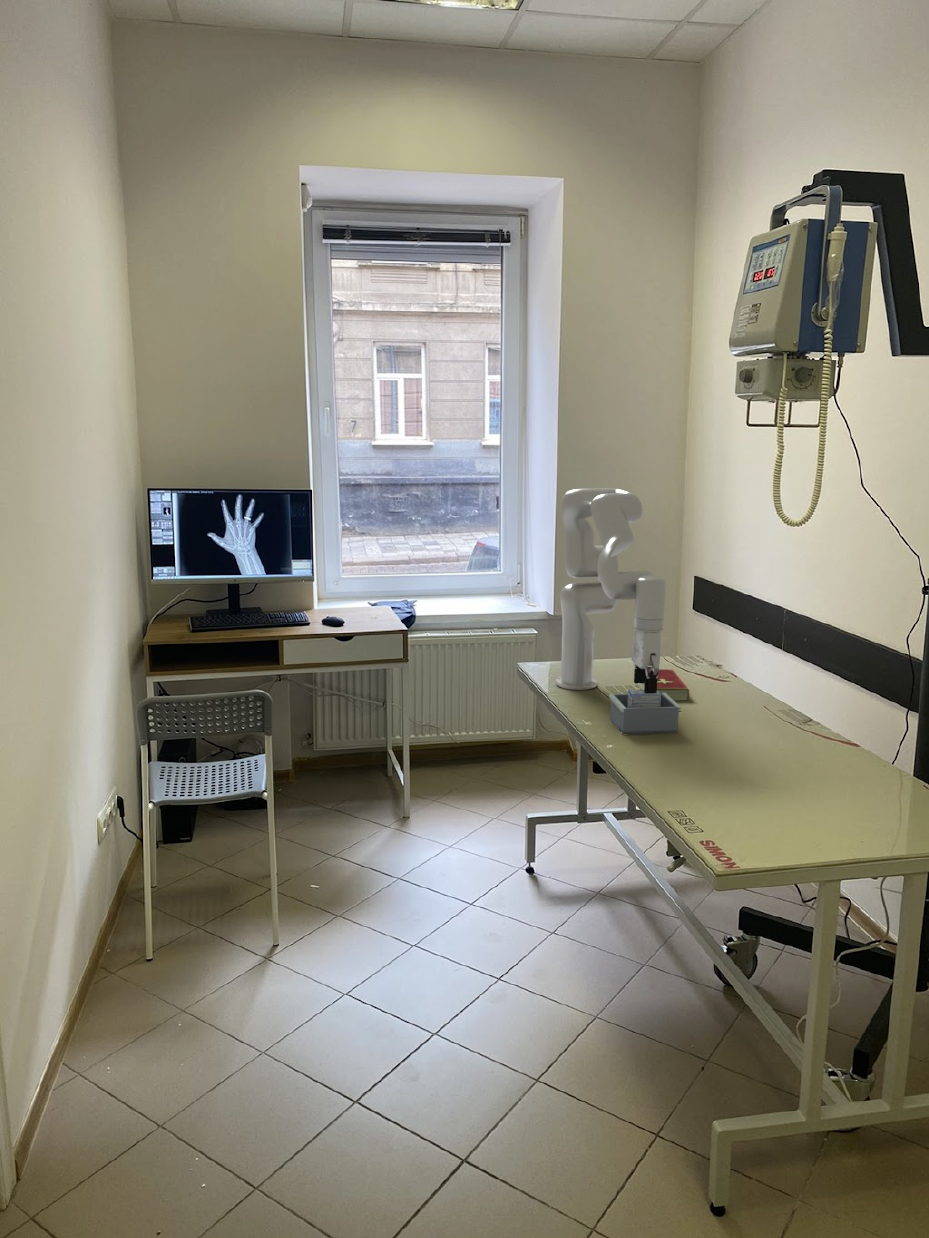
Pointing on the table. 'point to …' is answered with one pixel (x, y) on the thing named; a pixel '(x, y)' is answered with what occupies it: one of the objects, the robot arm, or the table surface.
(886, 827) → the table surface
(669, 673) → the hardcover book
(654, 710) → the bin
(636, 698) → the medicine box
